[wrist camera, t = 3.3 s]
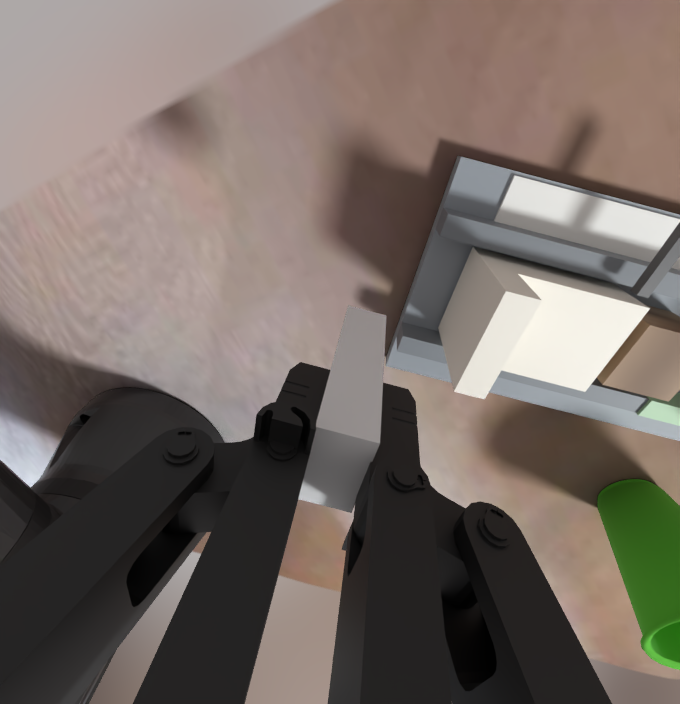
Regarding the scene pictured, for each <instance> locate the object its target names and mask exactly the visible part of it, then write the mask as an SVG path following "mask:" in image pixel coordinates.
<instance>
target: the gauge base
mask: <svg viewBox="0 0 680 704" xmlns="http://www.w3.org/2000/svg"><path fill="white" fill-rule="evenodd" d="M679 222H680V215H679V214H676V213H672V212H668V211H664V210H661V209H657V208H653V207H649V206H646V205H642V204H638V203H634V202H631V201H627V200H623V199H619V198H616V197H612V196H608V195H604V194H600V193H597V192H593V191H589V190H585V189H582V188H578V187H574V186H570V185H567V184H563V183H559V182H555V181H552V180H548V179H544V178H540V177H537V176H533V175H529V174H525V173H522V172H518V171H514V170H510V169H507V168H503V167H499V166H495V165H491V164H488V163H484V162H480V161H476V160H473V159H469V158H465V157H461V156H457V159H456V162H455V165H454V167H453V170H452V173H451V176H450V179H449V182H448V184H447V187H446V190H445V193H444V196H443V198H442V201H441V204H440V207H439V210H438V213H437V215H436V218H435V221H434V224H433V227H432V229H431V232H430V235H429V238H428V241H427V244H426V246H425V249H424V252H423V255H422V258H421V260H420V263H419V266H418V269H417V272H416V274H415V277H414V280H413V283H412V286H411V289H410V291H409V294H408V297H407V300H406V303H405V305H404V308H403V311H402V314H401V317H400V320H399V322H398V325H397V328H396V331H395V334H394V336H393V339H392V342H391V345H390V348H389V351H388V353H387V356H386V366H388V367H392V368H396V369H400V370H404V371H408V372H411V373H415V374H419V375H423V376H427V377H431V378H435V379H439V380H443V381H447V382H451V383H452V381H451V377H450V373H449V369H448V365H447V361H446V357H445V353H444V349H443V345H442V341H441V337H440V333H439V329H438V327H439V324H440V322H441V320H442V317H443V315H444V313H445V311H446V308H447V306H448V304H449V301H450V299H451V297H452V294H453V292H454V290H455V287H456V285H457V283H458V280H459V278H460V276H461V273H462V271H463V269H464V266H465V264H466V262H467V259H468V257H469V255H470V252H471V250H472V248H473V247H476V248H480V249H484V250H488V251H492V252H495V253H499V254H503V255H507V256H511V257H514V258H518V259H522V260H526V261H530V262H534V263H537V264H541V265H545V266H549V267H553V268H556V269H560V270H564V271H568V272H572V273H576V274H579V275H583V276H587V277H591V278H595V279H598V280H602V281H606V282H610V283H613V284H614V285H616V286H617V287H619V288H620V289H622V290H623V291H625V292H626V293H628V294H629V295H631V296H632V297H634V298H635V299H637V300H638V301H640V302H641V303H643V304H644V305H648V306H651V307H655V308H659V309H663V310H667V311H671V312H673V313H674V314H676V315H678V316H679V317H680V257H679V258H678V260H677V261H676V262H675V264H674V265H673V266H672V268H671V269H670V270H669V271H668V273H667V274H666V275H665V277H664V278H663V279H662V281H661V282H660V283H659V285H658V286H657V287H656V289H655V290H654V291H653V292H652V294H651V295H650V296H649V298H646V297H642V296H639V295H636V294H635V293H633V292H631V291H630V290H631V289H632V287H633V286H634V285H635V283H636V282H637V281H638V279H639V278H640V276H641V275H642V274H643V272H644V271H645V269H646V268H647V267H648V265H649V264H650V263H651V261H652V260H653V258H654V257H655V256H656V254H657V253H658V251H659V250H660V249H661V247H662V246H663V245H664V243H665V242H666V240H667V239H668V238H669V236H670V235H671V233H672V232H673V231H674V229H675V228H676V227H677V225H678V224H679ZM489 392H490V393H494V394H498V395H501V396H505V397H509V398H513V399H517V400H521V401H525V402H529V403H533V404H537V405H541V406H545V407H548V408H552V409H556V410H560V411H564V412H568V413H572V414H576V415H580V416H584V417H588V418H591V419H595V420H599V421H603V422H607V423H611V424H615V425H619V426H623V427H627V428H631V429H635V430H638V431H642V432H646V433H650V434H654V435H658V436H662V437H666V438H670V439H674V440H678V441H680V390H679V391H678V392H677V393H676V394H675V395H674V397H673V398H672V399H671V400H670V401H669V402H668V401H664V400H660V399H656V398H652V397H649V396H645V395H641V394H637V393H633V392H629V391H625V390H621V389H617V388H614V387H610V386H606V385H602V383H601V382H600V381H599V380H598V379H597V378H596V379H595V380H594V381H593V383H592V384H591V385H590V386H589V388H588V389H587V390H586V392H584V391H580V390H576V389H572V388H568V387H564V386H560V385H556V384H552V383H549V382H545V381H541V380H537V379H533V378H529V377H525V376H521V375H517V374H513V373H510V372H506V371H502V370H501V372H500V374H499V375H498V377H497V379H496V381H495V382H494V384H493V386H492V387H491V389H490V391H489Z"/></svg>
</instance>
